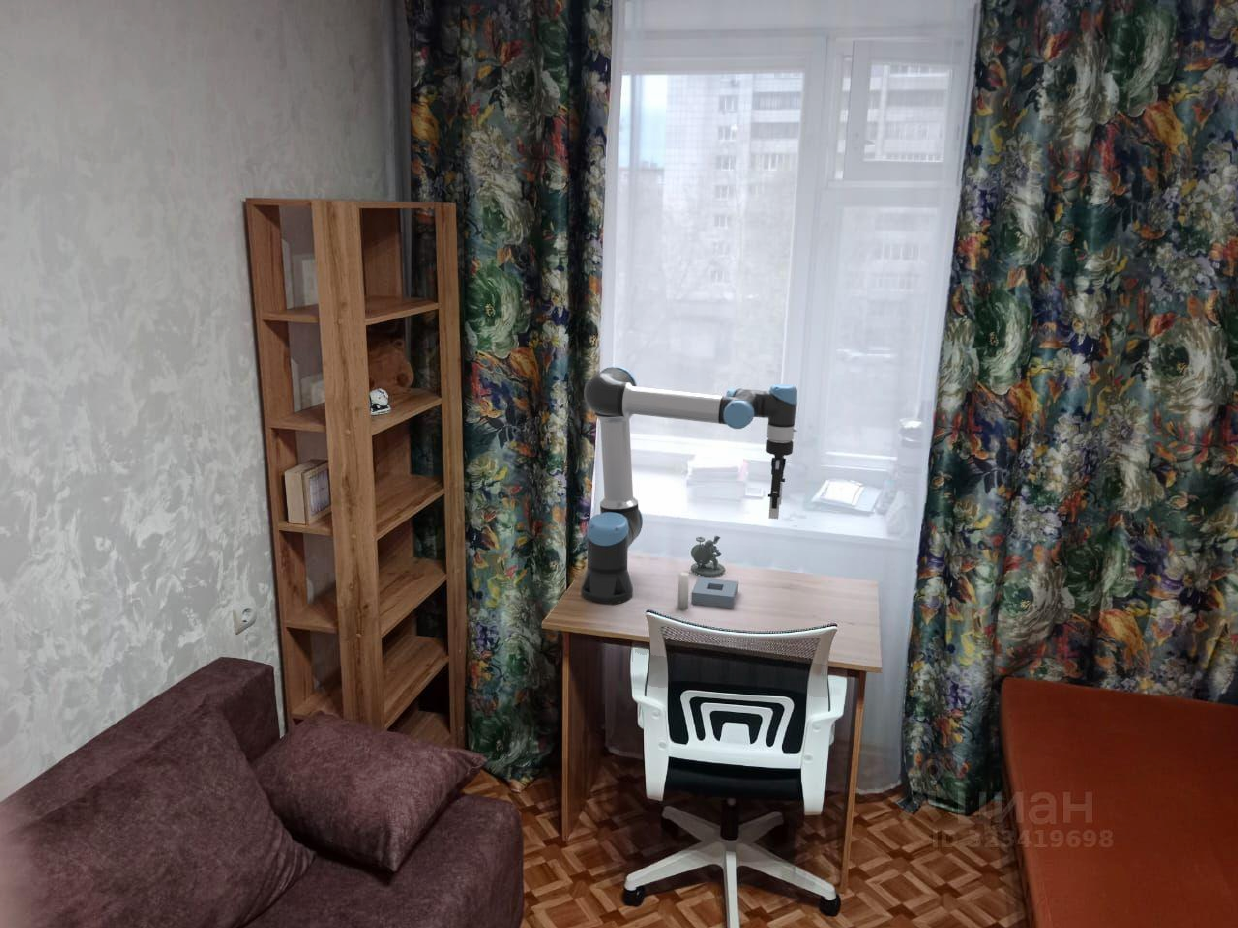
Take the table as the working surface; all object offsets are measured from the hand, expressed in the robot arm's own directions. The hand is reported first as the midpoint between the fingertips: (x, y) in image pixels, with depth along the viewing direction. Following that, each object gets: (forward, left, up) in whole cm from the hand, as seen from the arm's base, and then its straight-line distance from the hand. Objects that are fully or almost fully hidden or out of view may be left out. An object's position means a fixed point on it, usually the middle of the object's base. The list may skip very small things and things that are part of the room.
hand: (774, 511), depth 264 cm
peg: (-23, -15, -26) cm, 38 cm away
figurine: (-20, +14, -27) cm, 36 cm away
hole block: (-15, -6, -26) cm, 31 cm away
